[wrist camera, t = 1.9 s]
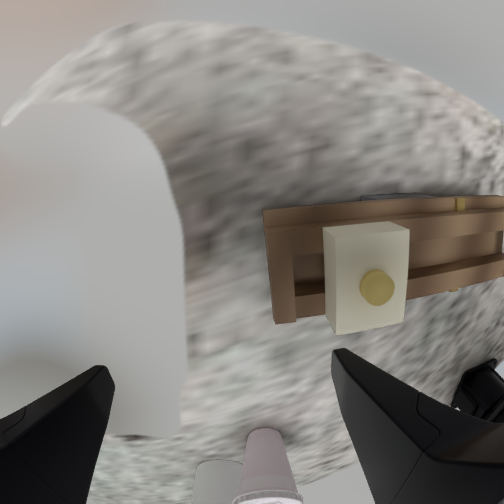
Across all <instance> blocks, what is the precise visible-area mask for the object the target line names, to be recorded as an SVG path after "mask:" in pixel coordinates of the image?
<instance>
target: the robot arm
mask: <svg viewBox="0 0 504 504" xmlns="http://www.w3.org/2000/svg"><path fill="white" fill-rule="evenodd" d="M496 363H497V360H496V359H493V360H490V361H488V362H486V363H484V364H482V365H480V366H478V367H476V368H473V369H471V370H469V371H467V372H465V373H464V374H463V377H462V379H461V382H460V385H459V387H458V390H457V393H456V395H455V398H454V400H453V402H452V405H451V407H449V406H447V405H445V404H443V403H440V402H439V401H437V400H435V399H433V398H431V397H429V396H427V395H425V394H423V393H422V392H419V391H418V390H416V389H414V388H413V387H411V386H409V385H407V384H406V383H404V382H402V381H400V380H399V379H397V378H395V377H393V376H392V375H390V374H388V373H387V372H385V371H383V370H381V369H380V368H378V367H376V366H375V365H373V364H371V363H370V362H368V361H366V360H364V359H363V358H361V357H359V356H358V355H356V354H354V353H353V352H351V351H349V350H348V349H346V348H340V349H335V350H333V351H332V363H331V373H332V378H333V382H334V386H335V390H336V394H337V398H338V402H339V406H340V410H341V414H342V417H343V419H344V422H345V424H346V427H347V430H348V432H349V435H350V437H351V440H352V442H353V445H354V448H355V450H356V453H357V455H358V458H359V461H360V463H361V466H362V468H363V471H364V474H365V476H366V479H367V482H368V485H369V487H370V490H371V493H372V495H373V498H374V501H375V504H504V380H503V378H501V376H500V375H499V374H498V373H497V372H496V371H495V370H494V369H495V366H496ZM114 391H115V384H114V381H113V379H112V377H111V375H110V373H109V370H108V368H107V367H106V366H104V365H95V366H93V367H92V368H90V369H88V370H87V371H85V372H83V373H81V374H80V375H78V376H76V377H75V378H73V379H71V380H70V381H68V382H66V383H64V384H63V385H61V386H59V387H58V388H56V389H54V390H52V391H51V392H49V393H47V394H46V395H44V396H42V397H40V398H39V399H37V400H35V401H33V402H32V403H30V404H28V405H27V406H25V407H23V408H21V409H20V410H18V411H16V412H14V413H12V414H10V415H8V416H6V417H4V418H2V419H0V504H86V501H87V497H88V493H89V489H90V485H91V481H92V477H93V473H94V469H95V465H96V462H97V458H98V455H99V451H100V448H101V444H102V441H103V437H104V434H105V431H106V428H107V424H108V419H109V415H110V410H111V405H112V401H113V396H114ZM457 407H458V408H459V409H460V411H459V410H456V409H455V408H457Z"/></svg>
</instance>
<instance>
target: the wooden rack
mask: <svg viewBox="0 0 504 504" xmlns="http://www.w3.org/2000/svg"><path fill="white" fill-rule="evenodd" d="M262 212H263V221H264V230H265V240H266V249H267V259H268V269H269V279H270V289H271V299H272V309H273V318H274V321H275V324H283V323H291V322H296V318H303V317H310V316H317V315H324V314H325V270H324V246H323V227H333V226H343V225H354V224H364V223H375V222H385V221H390V222H392V223H395V224H397V225H399V226H402V227H404V228H407V229H409V230H410V233H409V262H408V278H407V290H406V300H409V299H414V298H419V297H423V296H428V295H432V294H437V293H441V292H445V291H450V292H453V291H457V290H458V288H462V287H465V286H469V285H473V284H477V283H481V282H484V281H488V280H492V279H495V278H499V277H502V276H504V253H502V243H503V231H504V196H499V195H479V196H444V197H435V196H429V195H424V194H419V193H401V194H382V195H366V196H361V201H355V202H342V203H330V204H319V205H307V206H297V207H287V208H277V209H268V210H262Z"/></svg>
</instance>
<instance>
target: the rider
mask: <svg viewBox="0 0 504 504" xmlns="http://www.w3.org/2000/svg"><path fill="white" fill-rule="evenodd" d="M409 233H410V230H409V229H407V228H404V227H402V226H399V225H397V224H395V223H392V222H390V221H385V222H375V223H364V224H354V225H343V226H333V227H323V246H324V270H325V315H326V317H327V319H328V321H329V323H330V325H331V327H332V329H333V331H334V333H335V335H336V336H337V335H343V334H349V333H354V332H360V331H365V330H370V329H375V328H380V327H385V326H389V325H394V324H398V323H403V318H404V309H405V300H406V290H407V278H408V262H409Z"/></svg>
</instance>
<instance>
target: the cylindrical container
mask: <svg viewBox="0 0 504 504" xmlns="http://www.w3.org/2000/svg"><path fill="white" fill-rule="evenodd" d="M242 467H243V465H242V464H240V463H237V462H234V461H228V460H210V461H205V462H203V463H200V464H199V465H198V466H197V468H196V474H195V481H194V488H193V495H192V502H191V504H233V500H234V498H236V497H237V495H238V488H239V484H240V478H241V473H242Z"/></svg>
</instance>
